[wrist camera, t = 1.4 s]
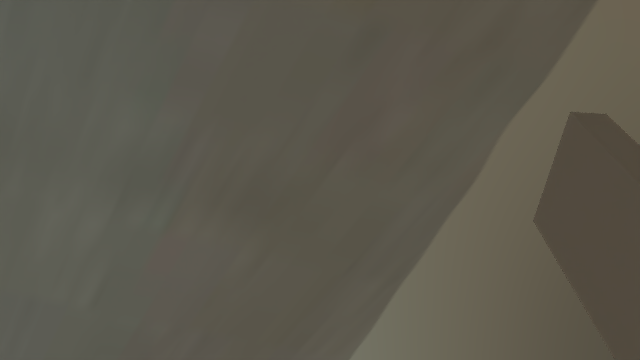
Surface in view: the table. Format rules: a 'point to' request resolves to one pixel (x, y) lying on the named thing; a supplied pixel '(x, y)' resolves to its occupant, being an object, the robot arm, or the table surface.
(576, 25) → the table surface
